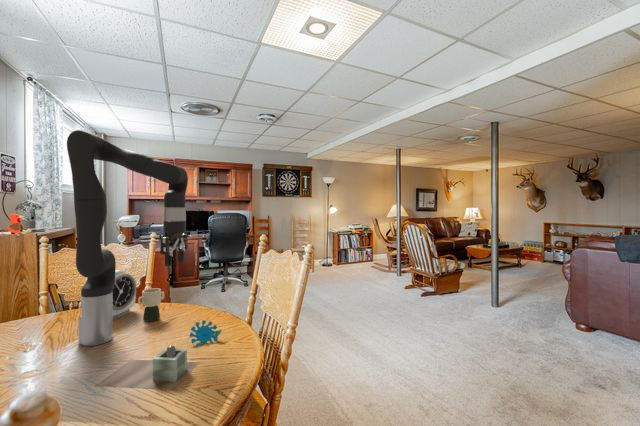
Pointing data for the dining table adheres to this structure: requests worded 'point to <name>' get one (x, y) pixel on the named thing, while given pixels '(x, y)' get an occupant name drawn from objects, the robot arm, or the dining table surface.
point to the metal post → (171, 352)
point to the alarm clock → (123, 293)
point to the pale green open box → (169, 366)
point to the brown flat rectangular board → (142, 376)
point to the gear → (204, 333)
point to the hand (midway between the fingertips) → (174, 263)
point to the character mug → (151, 303)
